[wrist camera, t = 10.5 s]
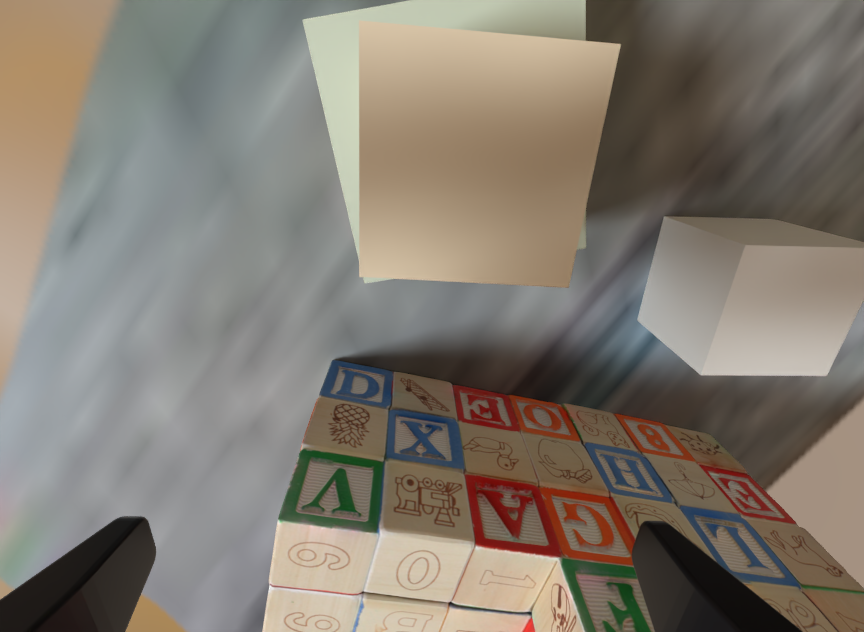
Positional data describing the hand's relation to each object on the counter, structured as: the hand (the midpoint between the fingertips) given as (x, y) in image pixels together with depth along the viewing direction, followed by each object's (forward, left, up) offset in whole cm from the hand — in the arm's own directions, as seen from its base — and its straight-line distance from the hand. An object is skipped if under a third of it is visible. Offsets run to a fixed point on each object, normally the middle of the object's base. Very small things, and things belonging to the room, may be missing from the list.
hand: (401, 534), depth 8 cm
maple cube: (+6, -1, -9) cm, 11 cm away
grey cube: (+1, -14, -13) cm, 19 cm away
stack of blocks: (-9, -6, -13) cm, 17 cm away
